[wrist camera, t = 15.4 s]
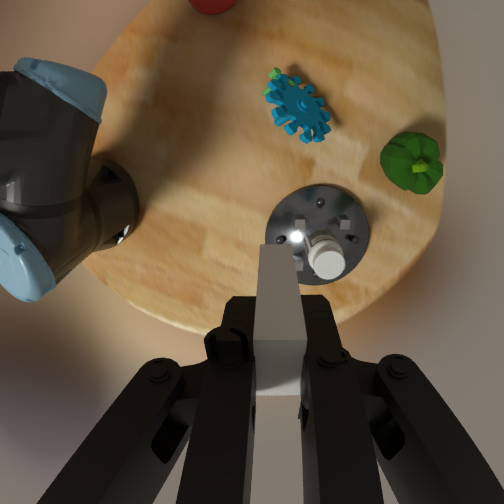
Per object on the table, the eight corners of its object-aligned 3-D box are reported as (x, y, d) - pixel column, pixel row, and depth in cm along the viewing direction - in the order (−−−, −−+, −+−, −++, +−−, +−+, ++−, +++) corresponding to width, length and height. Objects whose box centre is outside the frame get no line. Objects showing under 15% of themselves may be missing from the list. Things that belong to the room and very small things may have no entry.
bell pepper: (423, 139, 33) (461, 146, 24) (412, 189, 36) (447, 207, 27) (377, 122, 33) (410, 122, 24) (366, 175, 36) (395, 190, 27)
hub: (266, 283, 45) (265, 294, 42) (264, 185, 38) (263, 190, 35) (360, 281, 44) (365, 291, 41) (371, 187, 37) (379, 192, 34)
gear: (345, 130, 32) (302, 149, 28) (315, 145, 37) (270, 166, 33) (304, 63, 30) (252, 67, 25) (278, 83, 35) (227, 93, 30)
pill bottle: (326, 257, 41) (337, 286, 34) (298, 248, 41) (304, 276, 33) (338, 230, 39) (354, 255, 32) (310, 220, 39) (320, 243, 31)
